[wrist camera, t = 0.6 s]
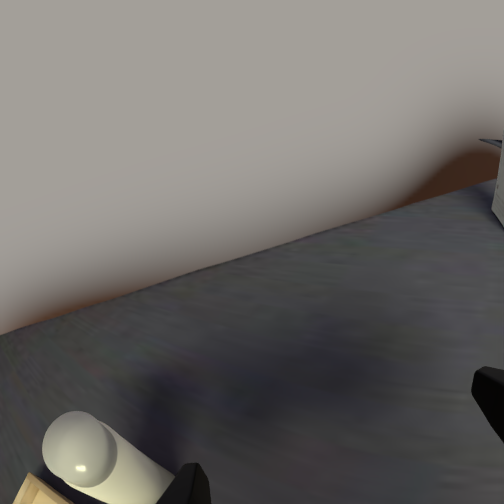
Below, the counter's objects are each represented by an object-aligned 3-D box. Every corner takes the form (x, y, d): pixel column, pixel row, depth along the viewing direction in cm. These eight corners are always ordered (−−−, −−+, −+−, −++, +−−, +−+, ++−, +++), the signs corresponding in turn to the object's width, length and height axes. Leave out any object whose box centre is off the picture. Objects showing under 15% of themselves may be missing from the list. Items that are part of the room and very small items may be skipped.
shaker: (170, 527, 16) (83, 497, 10) (120, 504, 17) (29, 457, 11) (190, 478, 20) (120, 424, 13) (140, 460, 21) (64, 398, 15)
